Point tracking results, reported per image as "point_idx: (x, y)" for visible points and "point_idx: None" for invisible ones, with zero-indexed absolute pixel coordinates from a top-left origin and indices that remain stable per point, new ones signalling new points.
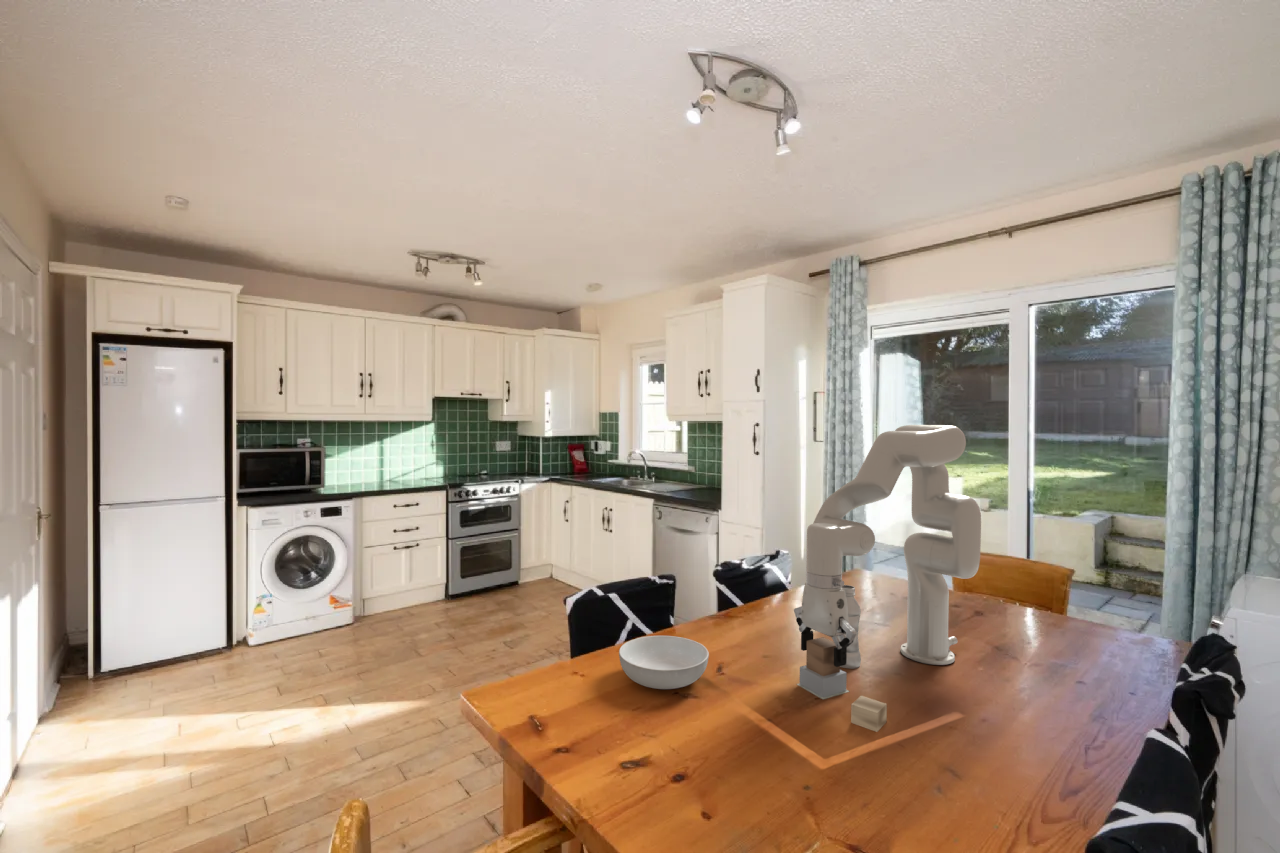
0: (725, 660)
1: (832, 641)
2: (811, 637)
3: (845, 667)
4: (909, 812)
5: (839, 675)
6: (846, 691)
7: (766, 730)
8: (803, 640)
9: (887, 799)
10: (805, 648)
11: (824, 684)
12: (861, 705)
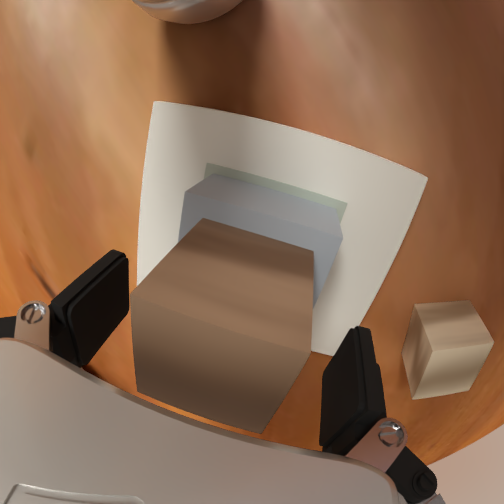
0: (22, 245)
1: (230, 332)
2: (91, 305)
3: (221, 14)
4: (473, 428)
5: (325, 277)
6: (338, 214)
7: (268, 424)
8: (101, 343)
9: (455, 430)
10: (124, 306)
11: None
12: (435, 389)
